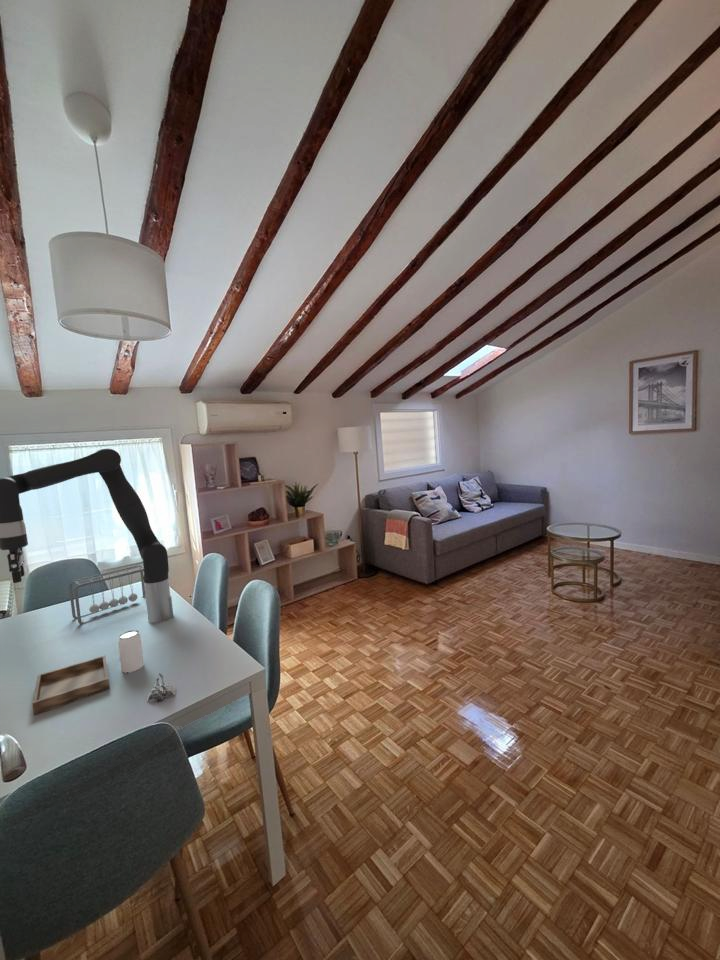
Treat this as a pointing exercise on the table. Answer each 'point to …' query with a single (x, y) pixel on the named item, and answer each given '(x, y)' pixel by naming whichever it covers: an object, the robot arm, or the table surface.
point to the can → (130, 651)
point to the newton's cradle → (103, 605)
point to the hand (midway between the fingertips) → (19, 579)
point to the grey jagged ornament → (158, 693)
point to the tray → (70, 684)
